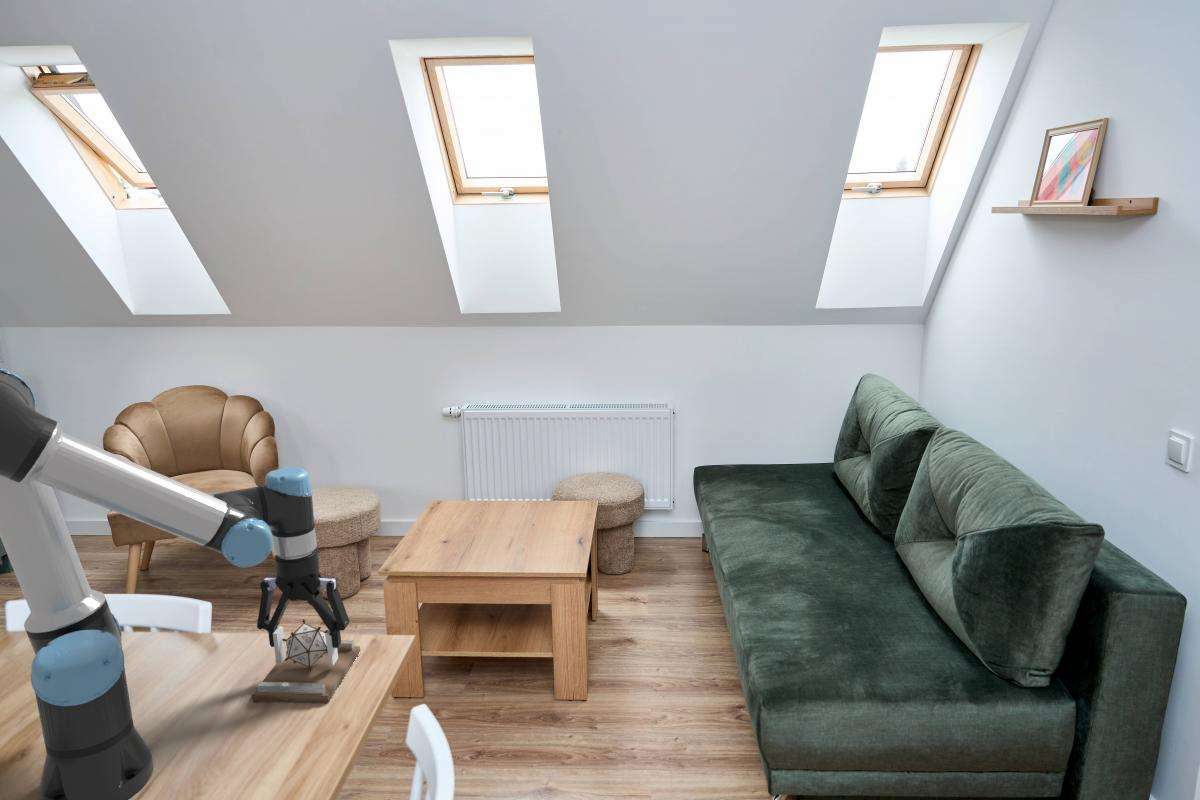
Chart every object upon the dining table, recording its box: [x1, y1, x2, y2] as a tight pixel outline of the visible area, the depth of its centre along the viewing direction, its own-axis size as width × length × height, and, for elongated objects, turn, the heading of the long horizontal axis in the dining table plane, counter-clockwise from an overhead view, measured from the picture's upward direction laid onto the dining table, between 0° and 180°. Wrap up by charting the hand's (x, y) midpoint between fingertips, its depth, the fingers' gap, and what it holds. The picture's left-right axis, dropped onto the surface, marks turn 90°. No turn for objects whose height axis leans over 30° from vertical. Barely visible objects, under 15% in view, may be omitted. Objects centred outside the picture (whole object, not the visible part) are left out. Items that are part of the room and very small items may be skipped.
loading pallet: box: [251, 639, 361, 704], centre depth 160 cm, size 17×14×3 cm
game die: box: [282, 618, 329, 672], centre depth 159 cm, size 9×8×10 cm
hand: (307, 661), depth 160 cm, fingers closed on game die, 9 cm apart
